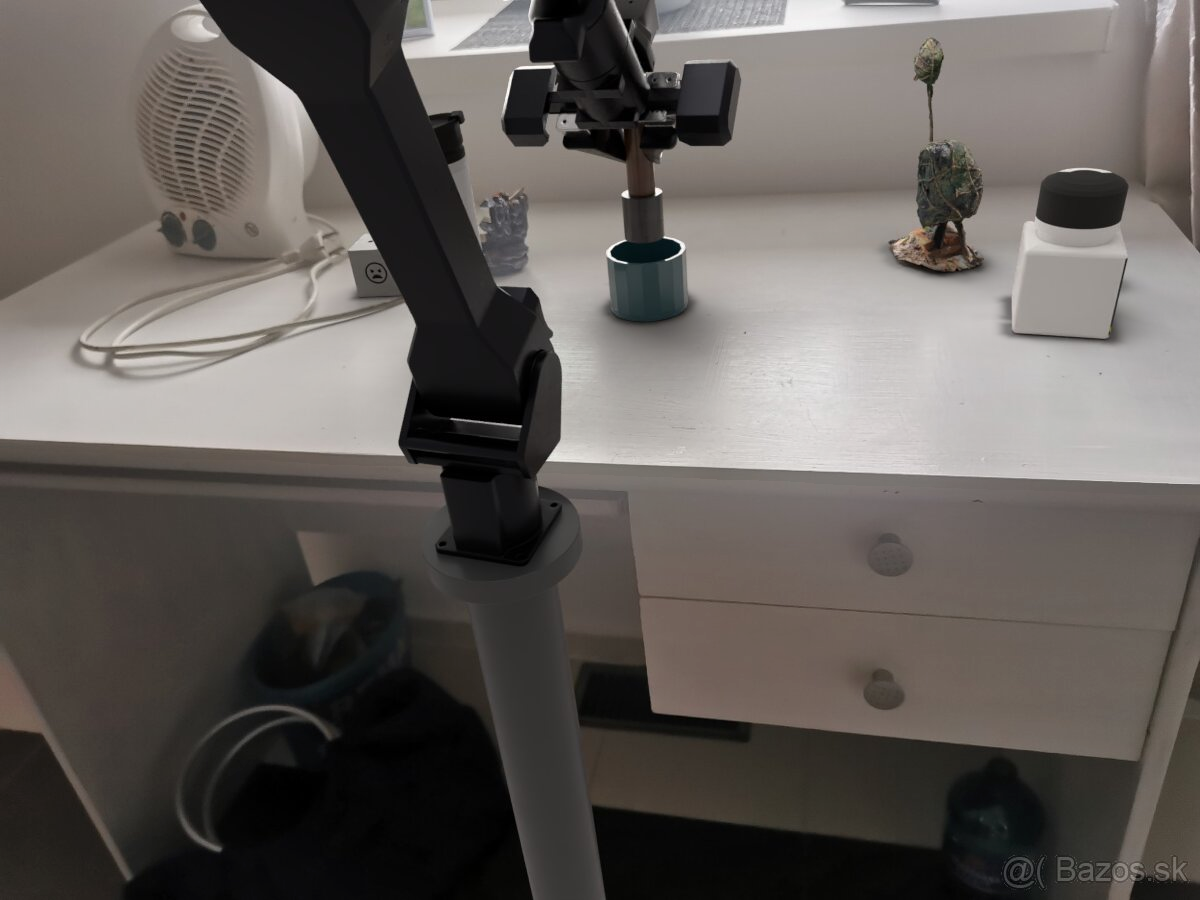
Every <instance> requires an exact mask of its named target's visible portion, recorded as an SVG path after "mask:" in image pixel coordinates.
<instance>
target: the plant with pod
mask: <svg viewBox="0 0 1200 900" xmlns="http://www.w3.org/2000/svg"><path fill="white" fill-rule="evenodd" d="M913 59H914V60H913V64H914V66H913V70H914V72H915V76H914V77H913V79H912V80H913V81H914V82H917V81H918V80H919V81H920V82H922V83H924V84H926V93H927V105H928V106H927V107H928V112H929V114H928V115H929V116H928V119H929V139H928V140H929V143H928V144H927V145H925V146H924V147H922V148H921V150H920V151H919V155H918V156H917V158H918V165H917V173H916V177H917V180H916V181H917V192H916V197H915V201H916V205H917V210H916V214H917V217H918V219H919V224H920V226H921V227H920V228H919V227H918V228H916V229H915V230H912V231H910V232H909V235H907V236H904V237H900V238H897V239H891V240H889V241H888V242H887V244H889V247H890V248H891V250H892V252H893V254H894V255H893V256H897V257H896V258H895V259H896V260H898V261H906V262H908V263H912V264H915V265H920V266H924V267H926V268H928V269H931V270H933V271H939V272H944V273H945V272H946V273H947V272H953V273H954V272H955V271H956V269H958V270H959V272H960V271H961V270H965V269H968V270H969V269H971V268H976V266H979V265H980V263H983V261H985V257H983V255H982V254H981V255H980V254H979V251H978V249H976V248H975V246H974V245H970V244H967V242H966V239H967V238H966V235H967V233H966V231H965V228H964V224H963V221H964V219H970V218H972V217H973V216H975V215H977V213H978V211H979V208H980V205H981V201H982V198H983V194H984V193H983V192H984V184H985V183H984V181H983V175H982V170H981V168H980V167H979V166H978V164H977V162H976V160H975V158H974V157H973V154H972V152H971V151H970V149H969V148H967V146H966V144H965V143H963V142H962V141H960V140H958V139H939V140H934V116H933V108H932V105H933V104H932V101H933V99H932V98H933V96H934V86H933V85H934V84H936V81H938V80H939V77H940V74H941V69H942V65H943V61H944V59H945V54H944V52H943V48H942V45H941V43H940V41H938V40H937V39H936V38H934V37H931V36H929V37H927V38H926V39H925V40H924V41H923V43H922V45H921V46H920V47H919V52H918V53H917V54H916V55H915V56H914V58H913ZM949 222H952V224H953V225H954V228H953V227H951V226H950V225H949ZM955 228H956V230H955Z"/></svg>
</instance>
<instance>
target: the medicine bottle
mask: <svg viewBox="0 0 1200 900" xmlns="http://www.w3.org/2000/svg"><path fill="white" fill-rule="evenodd" d="M1128 191H1129V184H1128V182H1127V180H1126V179H1125V177H1123V176H1121V175H1119V174H1116V173H1114V172H1112V171H1109V170H1105V169H1100V168H1091V167H1075V168H1074V167H1073V168H1065V169H1062V170H1059V171H1056V172H1053V173H1050V174H1048V175H1047V176H1046V177H1045V178H1044V179H1043V180H1042V181H1041V182H1040V188H1039V192H1038V199H1037V205H1036V209H1035V217H1034V221H1032V220H1027V221H1025V222H1024V224H1023V225H1022V231H1021V238H1020V243H1019V250H1018V256H1017V261H1016V268H1015V274H1014V280H1013V286H1012V292H1011V331H1012V332H1013V333H1014V334H1026V335H1043V336H1056V337H1071V338H1072V337H1073V338H1087V339H1100V340H1101V339H1102V340H1105V339H1108V338H1109V337H1110V336H1111V332H1112V329H1113V324H1114V319H1115V316H1116V311H1117V306H1118V302H1119V298H1120V294H1121V290H1122V285H1123V281H1124V277H1125V272H1126V269H1127V264H1128V259H1129V254H1128V251H1127V247H1126V244H1125V240H1124V237H1123V233H1122V230H1121V222H1122V219H1123V214H1124V211H1125V210H1124V205H1125V203H1126V200H1127V196H1128V193H1129V192H1128ZM1123 210H1124V211H1123Z"/></svg>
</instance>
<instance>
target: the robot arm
mask: <svg viewBox="0 0 1200 900" xmlns="http://www.w3.org/2000/svg"><path fill="white" fill-rule="evenodd" d="M198 1H199V2H200V4H201V5H202V7H203V8H204V9H205V11H206V12H207V13H208V15H209V16H210V17H211V19H212V20H213V21H214V23H215V25H216V26H217V27H218V28H219V30H220V31H221V33H222V34H223V36H224V37H225V38H226V40H227V41H228V42H229V44H231V45H232V46H233V47H234V48H236V49H237V51H239V52H240V53H242V54H243V55H245V56H246V57H247V58H249V59H250V60H251V61H252V62H254V63H255V64H256V65H258V66H259V67H260V68H261V69H263V70H264V71H265V72H267V73H268V74H270V75H271V76H272V77H274V79H276V80H277V81H279V82H280V83H281V84H283V85H284V86H285V87H287V88H288V89H289V90H291V91H292V92H293V93H294V94H295V95H296V97H297V98H298V99H299V101H300V102H301V105H302V106H303V108H304V110H305V112H306V115H307V116H308V118H309V120H310V122H311V124H312V126H313V127H314V130H315V132H316V134H317V135H318V138H319V140H320V141H321V143H322V145H323V147H324V149H325V151H326V152H327V154H328V156H329V158H330V160H331V162H332V164H333V167H335V170H336V172H337V174H338V175H339V178H340V180H341V181H342V183H343V186H344V188H345V189H346V191H347V193H348V195H349V197H350V198H351V200H352V203H353V205H354V207H355V208H356V211H357V213H358V214H359V216H360V219H361V220H362V222H363V224H364V226H365V228H366V230H367V232H368V234H370V236H371V238H372V239H373V241H374V243H375V245H376V247H377V249H378V251H379V253H380V255H381V257H382V259H383V261H384V263H385V265H386V266H387V268H388V270H389V272H390V274H391V276H392V278H393V280H394V282H395V284H396V286H397V288H398V290H399V292H400V294H401V295H400V296H401V297H402V299H403V301H404V303H405V305H406V307H407V309H408V311H409V313H410V314H411V316H412V317H411V318H412V319H413V322H414V324H415V327H414V330H413V331H414V332H413V334H412V338H411V341H410V342H411V343H410V345H409V350H408V354H407V358H406V363H407V367H408V369H409V371H410V374H411V382H410V386H409V391H408V395H407V400H406V404H405V408H404V413H403V417H402V421H401V426H400V431H399V435H398V440H397V444H398V447H399V449H400V451H401V452H402V454H403V456H404V458H405V460H406V461H407V463H408V464H410V465H419V464H421V465H429V466H437V467H440V468H441V473H440V474H439V480H440V483H441V487H442V492H443V497H444V500H445V505H447V510H448V514H449V519H450V523H451V524H450V525H449V527H448V528H447V529H446V530H445V532H444V533H443V534H442V536H441V537H440V538H439V540H438V541H437V542H436V544H435V548H436V552H437V553H439V554H444V555H450V556H456V557H463V558H469V559H475V560H481V561H487V562H493V563H499V564H505V565H511V566H517V567H523V566H526V565H527V564H528V563H529V562H530V561H531V559H532V557H533V556H534V554H535V553H536V551H537V549H538V548H539V546H540V545H541V543H542V541H543V540H544V538H545V537H546V535H547V533H548V532H549V530H550V528H551V527H552V525H553V524H554V522H555V520H556V519H557V517H558V516H559V514H560V512H561V511H562V506H561V503H560V502H559V501H554V500H546V499H540V497H539V488H538V486H539V482H538V477H537V475H538V473H539V472H540V471H541V469H542V468H543V467H544V465H545V464H546V462H547V460H548V459H549V457H550V456H551V455H552V453H553V452H554V450H555V449H556V447H557V446H558V445H559V443H560V442H561V439H562V398H563V397H562V396H563V393H562V392H563V368H562V362H561V359H560V357H559V355H558V354H557V352H556V351H555V348H554V345H553V343H552V341H551V339H552V338H553V336H554V331H553V330H552V329H551V328H550V327H549V326H548V324H547V321H546V319H545V316H544V312H543V308H542V304H541V299H540V297H539V296H538V295H537V293H536V292H535V291H534V290H533V289H532V288H531V287H530V286H517V285H516V286H512V285H497V283H496V281H495V279H494V276H493V274H492V272H491V269H490V267H489V264H488V261H487V259H486V257H485V254H484V251H483V248H482V249H481V246H480V244H479V241H478V239H477V236H476V234H475V231H474V229H473V226H472V224H471V221H470V219H469V216H468V214H467V211H466V209H465V206H464V204H463V201H462V199H461V196H460V194H459V191H458V189H457V186H456V184H455V181H454V179H453V176H452V174H451V171H450V169H449V166H448V164H447V161H446V159H445V156H444V154H443V151H442V149H441V146H440V144H439V141H438V139H437V137H436V134H435V132H434V129H433V127H432V124H431V122H430V119H429V117H428V116H429V114H428V112H427V110H426V107H425V105H424V102H423V99H422V97H421V94H420V91H419V89H418V87H417V84H416V82H415V79H414V77H413V75H412V72H411V69H410V67H409V64H408V61H407V59H406V56H405V53H404V50H403V46H402V42H403V37H404V31H405V25H406V20H407V15H408V14H407V13H408V10H409V4H410V0H198ZM504 1H505V2H506V1H508V0H504ZM528 20H529V23H530V25H531V32H530V37H529V42H528V58H529V61H530V63H532V64H546V63H547V64H549V63H552V65H550V64H549V65H526V66H525V65H523V66H521V65H520V66H519V67H517V68H514V69H513V71H512V72H511V74H510V76H509V78H508V79H509V80H508V83H507V89H506V92H505V98H504V103H503V108H502V112H501V118H500V124H501V130H502V132H503V133H504V135H505V136H506V138H507V139H508V140H509V141H510V142H511V144H512V145H513V147H515V148H521V147H523V148H524V147H525V148H529V147H530V148H531V147H532V148H534V147H535V148H536V147H537V148H538V147H541V148H542V147H545V146H546V145H547V144H548V143H549V141H550V137H551V135H550V133H549V131H548V130H547V124H548V120H549V115H557V119H556V123H555V129H556V131H557V132H559V133H560V132H561V133H562V135H563V137H562V140H561V141H562V142H561V143H562V146H563V148H565V149H566V150H568V151H577V152H581V153H586V154H589V155H593V156H596V157H597V156H598V157H601V158H605V159H608V160H611V161H615V162H618V163H622V164H625V165H626V157H625V143H624V130H623V129H637V127H638V123H644V124H643V130H642V135H641V141H640V146H639V148H640V150H641V151H642V152H643V153H644V154H645V155H646V156H647V157H648V158H649V159H650V160H651V161H652V162H654V165H661V164H662V158H663V152H664V151H669V150H674V149H675V147H677V144H678V142H681V143H683V144H685V145H687V146H689V147H725V146H726V145H727V144H728V143H730V142H731V141H732V140H733V134H734V128H735V121H736V115H737V110H738V105H739V98H740V92H741V85H742V77H741V73H740V69H739V67H738V65H737V64H736V62H734V61H733V59H732V58H730V59H728V58H727V59H726V58H725V59H700V60H699V59H697V60H694V59H693V60H688V61H686V62H684V65H683V71H682V76H681V75H680V73H679V71H655V66H656V61H657V57H656V54H655V53H654V50H653V47H652V44H653V41H654V39H655V37H656V34H657V32H658V31H659V29H660V26H661V24H660V18H659V13H658V6H657V2H656V0H530V2H529V8H528ZM648 73H649V74H648ZM680 77H681V79H680ZM556 85H557V86H556ZM555 86H556V91H554V90H555Z"/></svg>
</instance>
